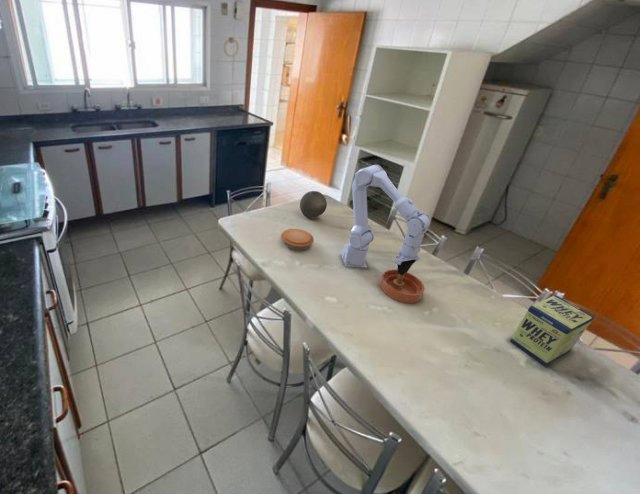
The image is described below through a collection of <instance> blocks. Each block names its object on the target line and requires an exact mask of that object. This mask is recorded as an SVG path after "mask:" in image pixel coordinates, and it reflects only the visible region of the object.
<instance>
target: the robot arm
mask: <svg viewBox="0 0 640 494" xmlns="http://www.w3.org/2000/svg"><path fill="white" fill-rule="evenodd" d="M387 174H388V173H387V172H386V171H385V170H384V168H383V167H382V166H381V165H379V164H373V165H369V166H367V167H363V168H360V169H359V170H358V171H356V172H355V173H354V179H353V181H352V184H351V192H352V194H351V195H352V209H353V211H352V212H353V227H352V228H351V230H350V236H349V237H348V242H349V243H345V244H344V247H343V250H342V254H341V258H342V260H343V263H344V266H345V267H353V268H368V266H367V265H368V264H367V263H366V259H367V255H368V251H369V248H370V244H371V243H372V242H373V241H374V239H375V235H374V233H373V230H372V226H371V225H370V224H369V216H368V214H369V213H368V197H367V196H368V195H367V189H368V188H369V187H375V188H380V189H381V190H382V191H383V192H384V193H385V194H386V195H387V196H388V198H390V199H391V200H392V202H394V208H395V210H396V211H397V212H398V213H399V214H400V215H401V217H402V218H403V219H404V220H405V221H406V227H407V230H406V233H405V236H404V239H403V241H402V244H401V248H400V249H399V251H398V254H397V256H396V257H395V261H394V264H397V265H396V266H397V270H398V273H399V274H401V275H404V273H407V272H408V273H409V270H410V269H411V267H412V266H413V265H414V264H415V263H416V262H417V261H420V257H419V256H418V255H419V254H420V251H421V245H422V243H423V239H424V237H425V232H426V230H427V228H429V227H430V226H431V222H432V220H431V217H430V216H429V214H427V213H425V212H423V211H422V210H420V209H419V208H418V207H417V206H416V205H415V204H414V201H413V199H410V198H409V197H405V196H403V195H402V194H401V192H400V191H399V190H398V189H397V188H396V186H395V185H394V183H393V182H392V181H391V179H390V178H389V177H388V175H387Z"/></svg>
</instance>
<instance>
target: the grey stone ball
mask: <svg viewBox="0 0 640 494" xmlns="http://www.w3.org/2000/svg"><path fill="white" fill-rule="evenodd" d="M327 208H328V202H327V198H326V196H324V194H323V193H322V192H320V191H317V190H311V191H307V192H305V193H304V194H303V196H302V197H301V199H300V202H299V210H300V212H301V214H302V215H303V216H304V217H306V218H309V219H315V218H318V217H319V216H321V215H323V214H324V213H325V211H326V209H327Z"/></svg>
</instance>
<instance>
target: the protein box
mask: <svg viewBox="0 0 640 494" xmlns="http://www.w3.org/2000/svg"><path fill="white" fill-rule="evenodd" d="M595 318H596V316H595V315H593V314H591V313H589V312H587V311H586V310H584V309H582V308H580V307H579V306H577V305H576V304H573V303H571V302H569V301H568V300H567V299H564V298H562V297H561V296H559V295H557V294H554V295H552V296H549V297H548V298H545V299H543V300H542V301H539V302H537V303H535V304H532V305H530V306H529V307H528V309H527V311H526V312H525V314H524V316H523V318H522V319H521V321H520V323H519V324H518V326H517V327H516V330H515V331H514V333H513V335H512V336H511V338H510V340H509V342H511V343H512V344H513V345H515V346H516V347H518V348H519V349H520V350H522V352H524V353H526V354H527V355H529V356H530V357H532V358H533V359H534V360H535V361H537V362H538V363H540V364H541V365H542V366H544V367H546V366H548V365H549V364H551V363H553V362H554V361H556V360H558V359H559V358H561V357H563V356H564V355H566V354H568V353H569V352H571V351H572V349H573V348H574V346H575V345H576V344H577V342H578V341H579V340H580V338H581V337H582V336H583V334H584V332H585V331H586V330H587V329H588V327H589V326H590V324H591V323H592V322H593V321H594V319H595Z"/></svg>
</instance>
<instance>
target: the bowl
mask: <svg viewBox="0 0 640 494" xmlns="http://www.w3.org/2000/svg"><path fill="white" fill-rule="evenodd" d="M398 274H399V273H398V269H387V270H385V271H383V273H382V274H381V277H380V280H379V287H380V289H381V291H382V292H383V293H384V294H385V295H386V296H388V297H389V298H390V299H392V300H394V301H397V302H400V303H404V304H415V303H418V302H419V301H421V299H422V298H423V295H424V292H425V290H426V289H425V285H424V283H423V282H422V280H420V279H419V278H418V277H417V276H416V275H414V274H412V273H410V272H409V271H408V272H407V273H405V275H404V277H403V280H402V281H403V282H404V286H403V288H396V287H394V286H393V280H394V279H397V277H398Z"/></svg>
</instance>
